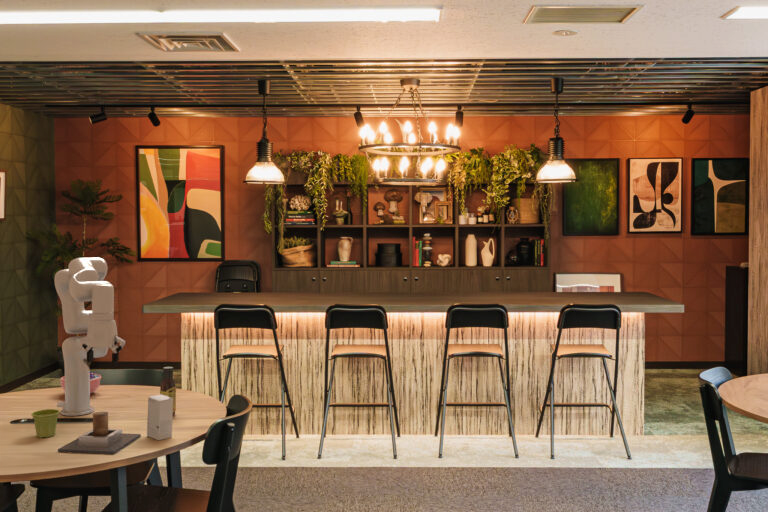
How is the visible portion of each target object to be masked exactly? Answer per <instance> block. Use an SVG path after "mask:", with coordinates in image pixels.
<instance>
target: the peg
mask: <svg viewBox="0 0 768 512" xmlns="http://www.w3.org/2000/svg"><path fill="white" fill-rule="evenodd" d="M92 429H93V436H104V437H106V436H107V435H108V429H109V412H108V411H96V412H94V413H93V412H92Z"/></svg>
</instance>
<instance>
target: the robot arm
mask: <svg viewBox="0 0 768 512" xmlns="http://www.w3.org/2000/svg"><path fill="white" fill-rule="evenodd" d="M67 267H68V268H65V269H60V270H58V271H57V272H56V273H55V274H54V287H55V290H56V293H57V295H58V297H59V300H60V301H61V302H60V303H61V311H62V320H63V328H64V330H65V333H67V334H70V335H77V334H86V335H80V336H70V337H68V338H66V339H64V341H63V342H62V344H61V348H62V349H61V350H62V357H63V362H64V363H63V364H64V376H65V391H64V401H57V404H56V408H62V410H60V414H61V415H63V416H67V417H75V416H76V417H77V416H83V415H88V414H91V413H93V412H94V411H95V408H94V406H91V394H90V373H91V372H90V371H91V370H90V366H88V364H87V363H91V362H94V358H95V359H96V358H102V357H105V356H107V354H108V350H109V349H111V351H112V354H111V364H112V365H115V364H117V363H118V362H119V358H120V356H119V355H120V352H121V351H122V349H124V346H125V344H126V340H124V339H122V338H121V337H119V336H118V327H117V322H116V320H115V318H114V317H115V316H114V315H115V312H114V311H115V309H114V308H115V288H114V285H113V284H112V283H111V282H110V281H107V280H105V278H106V276H107V274H108V269H109V268H108V263H107V261H106V260H105V258H101V257H99V256H97V257H77V258H74V259H72V260H71V261H70V262H69V263H68V266H67ZM85 302H91V310H90V309H89V310H86V308H85ZM118 343H119V345H118ZM84 360H86V362H87V363H85V361H84Z"/></svg>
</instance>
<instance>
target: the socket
mask: <svg viewBox="0 0 768 512" xmlns="http://www.w3.org/2000/svg"><path fill="white" fill-rule="evenodd" d="M141 437H142V436H141V433H123V429H121V428H108V435H107V436H106V437H104V436H93V428H92V429H90V430H88V431H87V432H85V433H83V434H82V435H79V436H78V437H77V438H75V439H74V440H72V441H70V442H69V443H67V444H65V445H63V446H61V447H60V448H58V449H57V453H68V452H71V453H72V454H73V453H74V454H95V455H96V454H97V455H115V454H117V453H118V452H120V451H121V450H123V449H124V448H126V447H128V446H129V445H131V444H132V443H133V442H135V441H137V440H138V439H140V438H141Z"/></svg>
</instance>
